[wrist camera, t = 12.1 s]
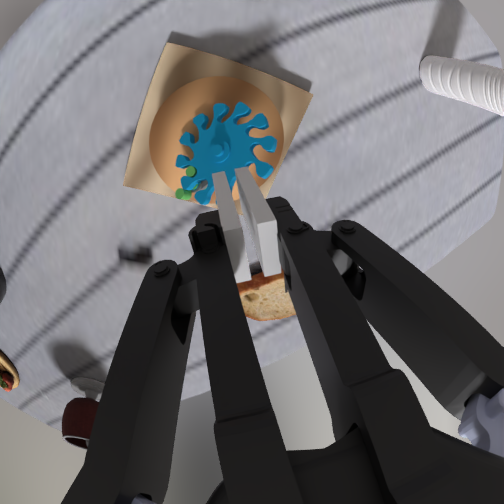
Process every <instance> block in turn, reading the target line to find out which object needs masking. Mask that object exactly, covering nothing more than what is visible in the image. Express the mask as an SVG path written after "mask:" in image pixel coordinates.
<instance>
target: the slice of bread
mask: <svg viewBox="0 0 504 504" xmlns="http://www.w3.org/2000/svg"><path fill="white" fill-rule="evenodd" d="M237 287H238V291H239V294H240V298H241V301H242V305H243V309H244V312H245V316H246V317H249V318H251V319H254V320H258V321H266V320H275V319H282V318H285V317H289V316H292V315H296V312H295V309H294V306H293V303H292V301H291V298H290V295H289V292H287V293H285V283H284V271H283V269H282V266H281V273H280V274H275V275H271V276H267V277H265V276H264V273H263V271H262V272H260V273H258V274H255V275H253V276H251V280H249V281H245V282H240V283H237Z"/></svg>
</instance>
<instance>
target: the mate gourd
mask: <svg viewBox="0 0 504 504" xmlns="http://www.w3.org/2000/svg"><path fill="white" fill-rule="evenodd" d="M104 385H105V384H104V383H102V382H100V381H97V380H94V379H91V378H85V377H77V378H74V379H72V381H71V387H72V388H73V389H74V390H75V391H76V392H77V393H79V394H81V395H83V396H85V397H86V398H74V399H73V400H71V401H70V402H69V403H68V404H67V405H66V407H65V410H64V413H63V418H62V434H63V440H64V441H66V442H67V443H69V444H71V445H74V446H76V447H79V448H82V449H85V450H87V448H88V444H89V439H90V435H91V431H92V427H93V423H94V420H95V416H96V412H97V409H98V405H99V402H97V401H95V400H100V398H101V395H102V391H103V388H104Z"/></svg>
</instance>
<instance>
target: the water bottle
mask: <svg viewBox="0 0 504 504" xmlns="http://www.w3.org/2000/svg"><path fill="white" fill-rule="evenodd" d="M419 73H420V78H421V80H422V83H423V85H424V87H425V88H426V89H427V90H428V91H430V92H432V93H435V94H438V95H443V96H446V97H449V98H453V99H456V100H459V101H463V102H465V103H468V104H472V105H474V106H477V107H481V108H483V109H485V110H488V111H491V112H494V113H496V114H499V115H501V116H504V69H501V68H497V67H493V66H489V65H486V64H480V63H476V62H469V61H466V60H459V59H454V58H448V57H440V56H432V55H430V56H426V57H425V58H424V59H423V60H422V61H421V64H420V70H419Z"/></svg>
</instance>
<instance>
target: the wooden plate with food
mask: <svg viewBox="0 0 504 504" xmlns="http://www.w3.org/2000/svg"><path fill="white" fill-rule="evenodd" d="M19 382H20V379H19V375H18V373H17V371H16V369H15V367H14V366H13V365H12V363H11V362H10V361H9V360H8V358H7V357H6V356H5V355H4V354H3V353H2V352H1V351H0V387H3V389H4V390H6V391H11V390H12V389H14V388H16V387H17V386H18V385H19Z"/></svg>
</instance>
